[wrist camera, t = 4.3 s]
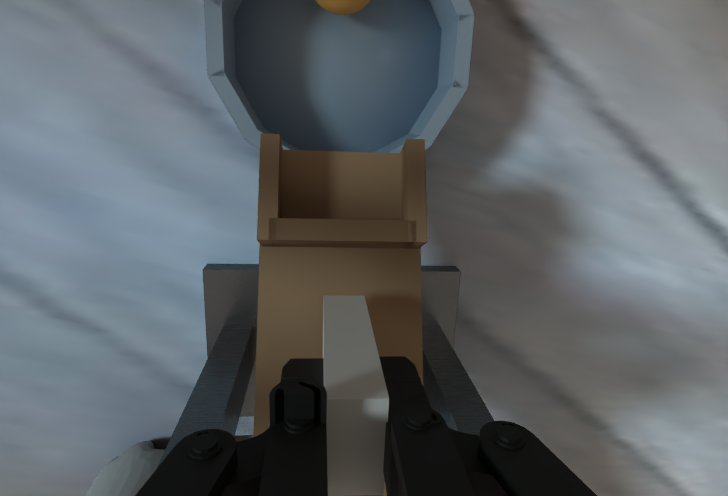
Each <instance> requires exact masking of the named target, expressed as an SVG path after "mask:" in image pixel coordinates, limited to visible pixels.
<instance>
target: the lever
mask: <svg viewBox="0 0 728 496" xmlns="http://www.w3.org/2000/svg"><path fill="white" fill-rule="evenodd" d="M257 240H258V241H259V243H260V254H259V284H258V315H257V346H256V377H255V407H254V435H244V436H234V437H235V440H236V442H239V441H243V440H247V439H250V438H253V437H256V436H258V435H260V434H261V433H263V432H265V431H266V430H267V429H268V428H269V427H270V406H269V394H270V392H271V390H272V388H273V387H275V386H276V385H277V384H279V383H280V381H281V374H282V368H283V366H284V365H285V364H286V363H287V362H288V361H289V360H290V359H294V358H323V296H324V295H348V296H365V300H366V304H367V309H368V313H369V317H370V321H371V325H372V329H373V333H374V338H375V342H376V346H377V350H378V354H379V357H385V356H405V357H407V358H408V359H409V360H410V361H411V362H412V363H414V364H415V366H416V369H417V372H418V374H419V377H420V380H421V382H422V385H423V346H422V298H421V249H420V247H421V246H422V245H424V244H425V243H427V214H426V170H425V139H406V141H405V143H404V145H403V147H402V150H401V152H400V153H374V152H343V151H313V150H283V148H282V143H281V138H280V134H263V133H261V138H260V168H259V198H258V228H257ZM361 496H387V492H386V486H385V480H384V495H361Z"/></svg>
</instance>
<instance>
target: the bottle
mask: <svg viewBox="0 0 728 496" xmlns="http://www.w3.org/2000/svg"><path fill="white" fill-rule="evenodd" d="M164 452H165V449H164V450H161V449H154V445H153V443H152V442H151V441H144V442H140V443H137V444H136V445H134V446H132V447H131V448H130V449H129V450H127V451H126V452H125V453H124V454H122V455H121V456H119V457H116V458H114V459H113V460H111V461H110V462H109V463H108V464H107V465H106V466H105V467H104V468H103V469H102V471H101V472H100V473H99V474H98V476H97V478H96V479H95V481H94V482H93V484H92V486H91V487H90V489H89V491H88V492H87V494H86V496H135V495H136V494H137V493H138V491H139V490H140V489H141V488H142V486H143V485H144V484H145V483H146V481H147V480H148V479H149V478H150V476H151V475H152V474H153V473H154V472H155V470H156V469H157V466H158V464H159V462H160V460H161V458H162V456H163V454H164Z"/></svg>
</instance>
